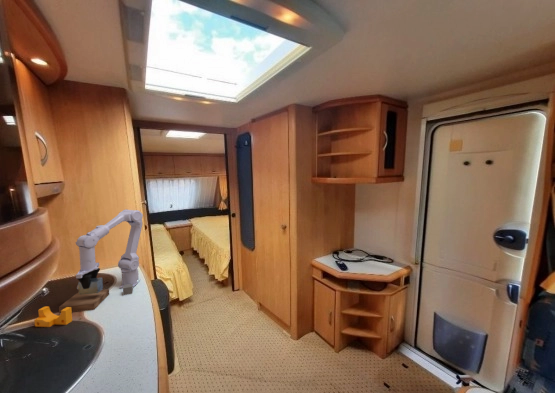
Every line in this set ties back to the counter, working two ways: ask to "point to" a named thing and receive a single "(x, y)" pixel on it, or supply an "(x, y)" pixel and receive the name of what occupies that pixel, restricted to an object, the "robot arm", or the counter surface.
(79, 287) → the block
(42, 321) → the pipe clamp
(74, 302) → the walnut stand
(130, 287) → the grey rubber block
